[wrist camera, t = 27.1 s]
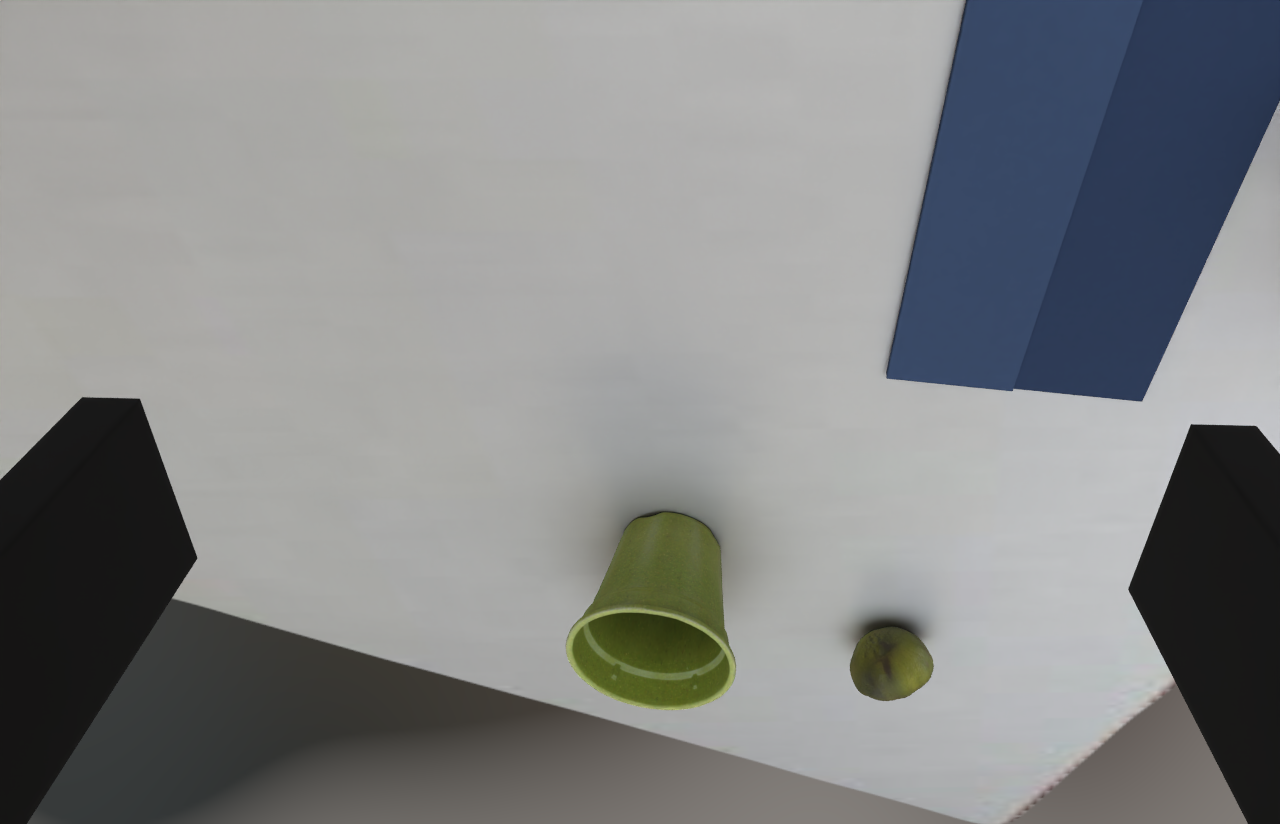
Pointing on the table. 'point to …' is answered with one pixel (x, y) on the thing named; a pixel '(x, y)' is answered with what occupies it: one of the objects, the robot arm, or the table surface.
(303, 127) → the table surface
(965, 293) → the napkin
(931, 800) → the table surface
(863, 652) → the lime
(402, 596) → the table surface
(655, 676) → the plant pot
